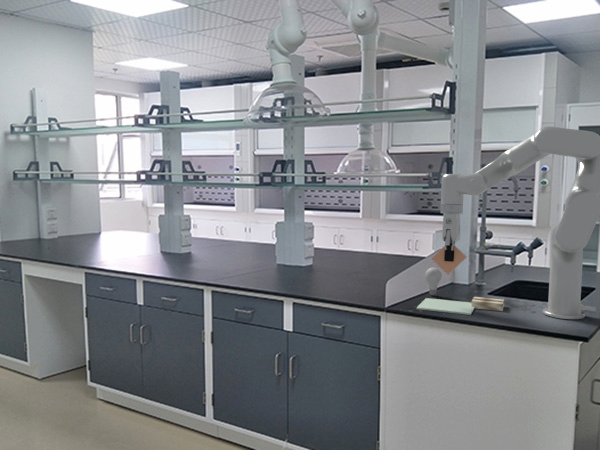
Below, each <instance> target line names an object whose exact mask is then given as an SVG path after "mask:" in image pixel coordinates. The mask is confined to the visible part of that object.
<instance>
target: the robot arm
mask: <svg viewBox="0 0 600 450" xmlns="http://www.w3.org/2000/svg"><path fill="white" fill-rule="evenodd" d="M551 154H552V155H557V156H562V157H563V156H564V157H570V158H575V159H576V161H577V165H578V167H577V171H576V175H575V176H574V177H575V178H574V180H573V183H572V185H571V187H570V190H569V192H568V194H567V196H566V198H565V200H564V207H565V209H564V212H563V214H562V217H561V219H560V221H559V222H558V223H556V224H555V225H554V226H553V228H552V230H551V233H550V266H549V279H548V280H549V281H548V283H549V284H548V299H547V300H548V301H547V302H548V303H547V307H544V308H543V309H542V313H543V314H544V315H546V316H548V317H551V318H557V319H564V320H583V319H584V318H585V317H586V313H589V314H590V313H591V314H597V307H595V306H594V307H593V306H590V305H583V304H582V301H581V295H582V282H583V281H582V277H583V260H584V252H583V251H584V250H583V249H585V247H586V246H587V245H588V243H589V241H590V238H591V236H592V233H593V231H594V229H595V227H596V225H597V223H598V219H599V217H600V135H599V134H598V133H597V132H594V131H589V130H581V129H575V128H574V129H573V128H566V127H565V128H564V127H560V126H559V127H558V126H550V125H549V126H544V127H541V128H539V129H538V130H537V131H536V132H535V133H532V134H531V135H529V136H528V137H526V138H525V139H523V140H521V141H520V142H518V143H517V144H515V145H514V146H511V147H510V148H508V149H507V150H505V151H504V152H502V153H501V154H500V155H499V156H498V157H497V158H495V159H494V160H493V161H491V162H490V163H488V164H487V165H485V166H484V167H482V168H480V169H479V170H477V171H475V172H474V173H469V174H460V173H446V174H443V175H442V177H441V186H440V187H441V190H440V192H441V193H440V212H439V213H440V214H442V215H443V216H442V230H441V231H442V232H441V233H442V235H441V237H442V241H443V242H444V246H445V255H444V261H449V262H453V261H454V250H453V247H454V245H455V246H456V243H457V242H458V241H460V240H461V214H463V211H464V195H468V196H475V197H477V196H479V195H481V194H483V193H485V192H486V191H487V190H489V189H491V188H493V187H494V186H497V185H498V184H499V183H501V182H503V181H505V180H506V179H508V178H511V177H513V176H516V175H517V174H519V173H521V172H523V171H524V170H526V169H527V168H529V167H530V166H531V167H532V166H533V165H534V164H536V163H537V162H539V161H541V160H542V159H544V158H546V157H548V156H549V155H551ZM451 243H452V244H451Z"/></svg>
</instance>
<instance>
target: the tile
mask: <svg viewBox="0 0 600 450" xmlns="http://www.w3.org/2000/svg"><path fill="white" fill-rule="evenodd" d="M451 244H452V243H451ZM453 250H454V261H453V262H449V261H444V255H445V245H444V246H442V248H441V249H440V250H439V251H437V253H436V254H435V255H434V256H433V257H431V260H432V261H433V262H434V263H435V264H436V265H438V267H439V268H440V269H441V270H442V271H443V272H444V273H445V274H446V275H447V276H449V274H451V273H452V272H453V271H454V270H455V269H457V267H458V266H459V265H461V263H463V261H464V260H465V259H466V258H467V255H466V254H465V253H463V252H462V250H461V249H459V248H458V247H457V246H456V244H455V245H454V247H453Z"/></svg>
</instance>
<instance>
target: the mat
mask: <svg viewBox="0 0 600 450" xmlns="http://www.w3.org/2000/svg"><path fill="white" fill-rule="evenodd" d="M475 309H476V308H475V307H474V306H471V302H469V301H459V300H449V299H440V298H438V299H437V298H430V297H429V298H428V297H425V299H424V300H422V301H421V303H420V304H418V305H417V306H416V310H420V311H421V310H422V311H428V312H429V311H431V312H439V313H449V314H457V315H458V314H459V315H468V316H471V315H472V313H473V311H474V310H475Z"/></svg>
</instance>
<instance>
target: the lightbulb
mask: <svg viewBox="0 0 600 450" xmlns="http://www.w3.org/2000/svg"><path fill="white" fill-rule="evenodd" d="M442 275H443V274H442V271H441V270H440V269H439V268H437V267H428V269H427V270H426V271H425V275H424V276H425V279H426V281H427V283H428V290H429V294H430V295H431V296H432V297H433V296H434V297H435V295H437V289H438V285H439V282H440V281H441V279H442Z"/></svg>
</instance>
